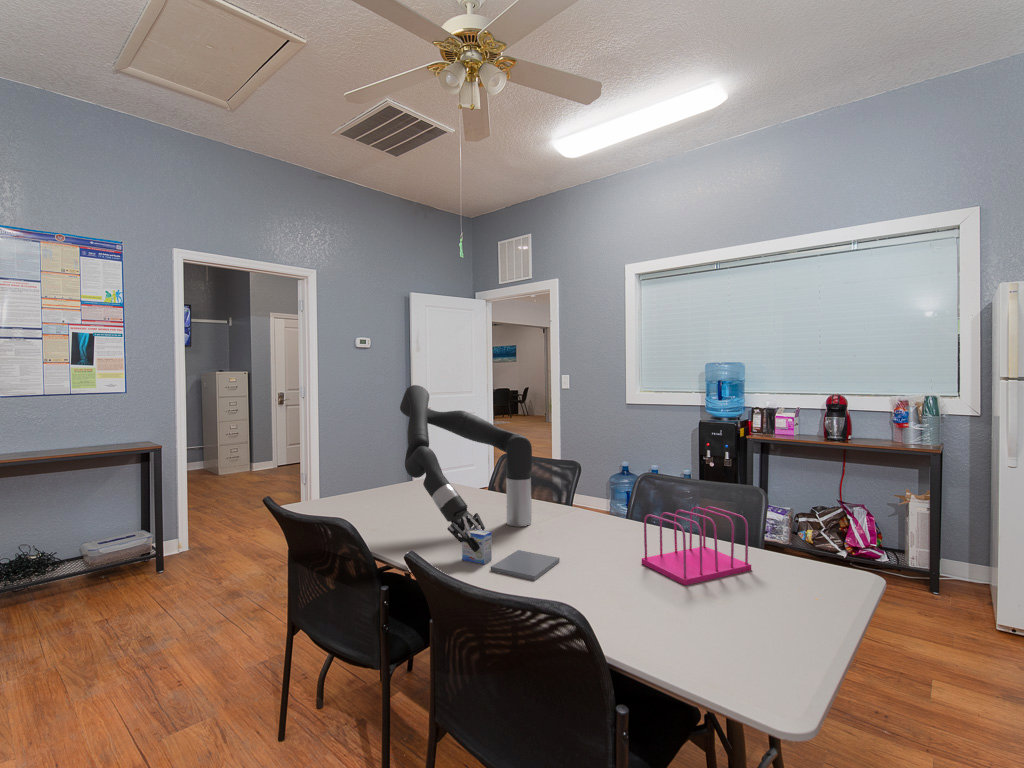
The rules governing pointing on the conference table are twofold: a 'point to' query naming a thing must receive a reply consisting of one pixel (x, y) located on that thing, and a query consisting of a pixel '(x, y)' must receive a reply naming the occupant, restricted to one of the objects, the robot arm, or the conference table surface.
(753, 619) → the conference table surface
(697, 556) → the file sorter
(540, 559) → the slate tile
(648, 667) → the conference table surface
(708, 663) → the conference table surface
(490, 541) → the medicine box
